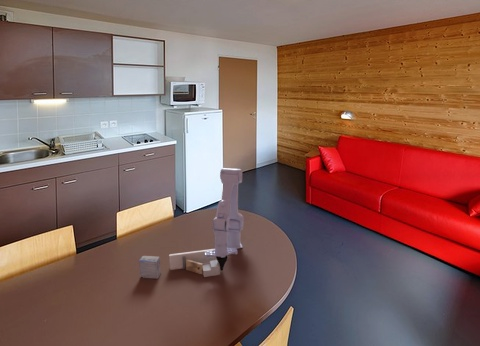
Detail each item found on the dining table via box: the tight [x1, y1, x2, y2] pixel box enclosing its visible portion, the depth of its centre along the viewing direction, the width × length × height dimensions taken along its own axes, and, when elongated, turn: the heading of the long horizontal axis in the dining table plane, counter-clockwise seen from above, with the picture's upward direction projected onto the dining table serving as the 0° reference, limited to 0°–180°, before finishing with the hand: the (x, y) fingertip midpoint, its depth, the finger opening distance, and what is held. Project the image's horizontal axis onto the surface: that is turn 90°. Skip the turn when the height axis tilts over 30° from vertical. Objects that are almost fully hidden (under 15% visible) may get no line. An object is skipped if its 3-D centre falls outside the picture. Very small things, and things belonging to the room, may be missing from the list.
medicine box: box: [138, 255, 162, 280], centre depth 135 cm, size 8×4×9 cm, turn 84°
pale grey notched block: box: [202, 259, 220, 278], centre depth 138 cm, size 5×7×4 cm
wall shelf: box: [168, 248, 216, 271], centre depth 142 cm, size 3×21×7 cm, turn 105°
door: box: [185, 259, 203, 275], centre depth 138 cm, size 8×2×5 cm, turn 65°
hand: (221, 269), depth 139 cm, fingers closed
